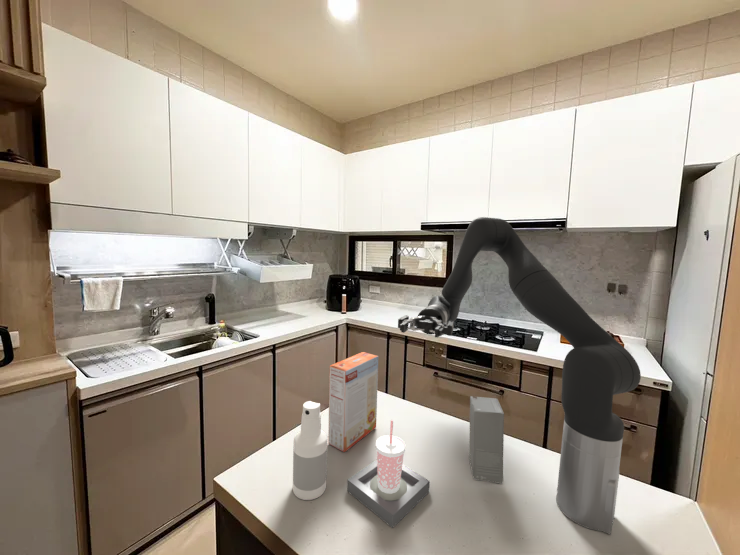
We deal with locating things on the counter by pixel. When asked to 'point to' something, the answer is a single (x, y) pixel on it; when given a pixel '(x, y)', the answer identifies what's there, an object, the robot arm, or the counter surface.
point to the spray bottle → (310, 455)
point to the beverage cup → (389, 461)
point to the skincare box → (486, 439)
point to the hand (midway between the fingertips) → (419, 330)
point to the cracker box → (352, 399)
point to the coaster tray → (387, 504)
